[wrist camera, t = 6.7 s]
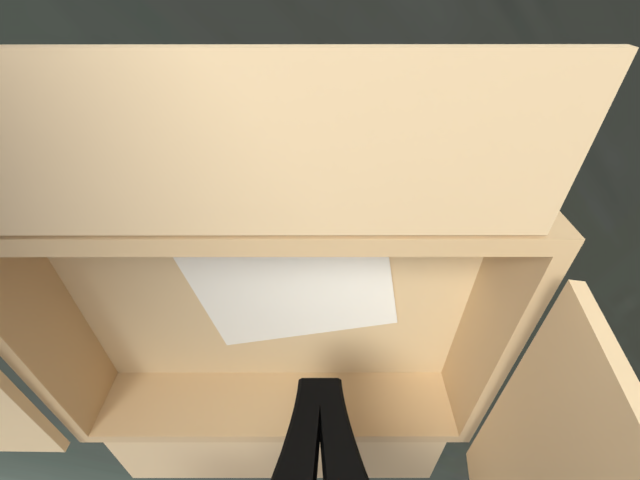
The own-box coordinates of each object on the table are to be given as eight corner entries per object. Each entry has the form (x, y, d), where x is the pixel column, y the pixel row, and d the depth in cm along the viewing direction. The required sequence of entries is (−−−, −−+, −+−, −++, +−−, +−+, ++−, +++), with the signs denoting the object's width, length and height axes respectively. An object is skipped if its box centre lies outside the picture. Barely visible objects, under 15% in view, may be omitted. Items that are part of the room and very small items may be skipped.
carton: (-112, 18, 10) (-284, 49, 7) (587, 18, 10) (695, 48, 7) (138, 414, 23) (113, 479, 20) (432, 414, 23) (448, 478, 20)
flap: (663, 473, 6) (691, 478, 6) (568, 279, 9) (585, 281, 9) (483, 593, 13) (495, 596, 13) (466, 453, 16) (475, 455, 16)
